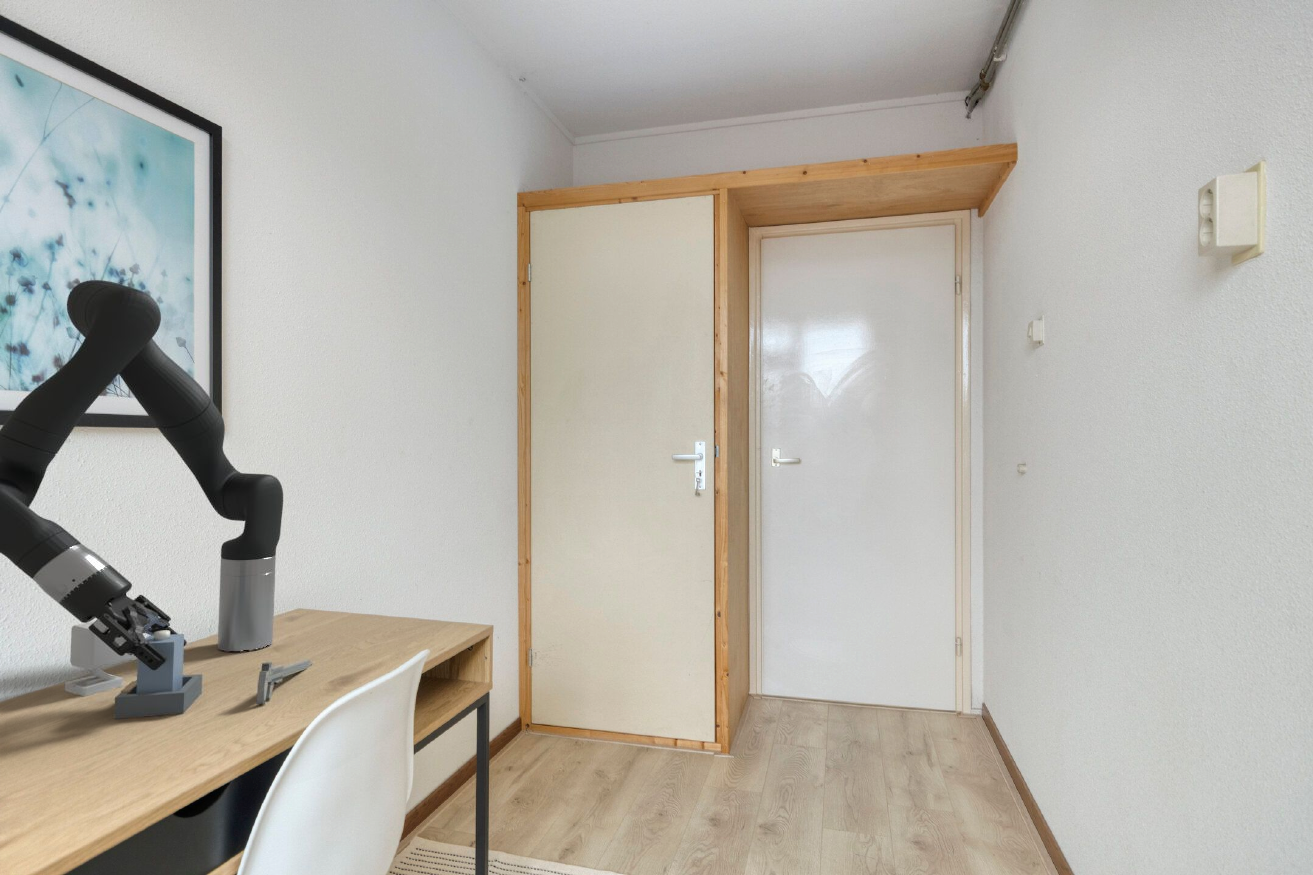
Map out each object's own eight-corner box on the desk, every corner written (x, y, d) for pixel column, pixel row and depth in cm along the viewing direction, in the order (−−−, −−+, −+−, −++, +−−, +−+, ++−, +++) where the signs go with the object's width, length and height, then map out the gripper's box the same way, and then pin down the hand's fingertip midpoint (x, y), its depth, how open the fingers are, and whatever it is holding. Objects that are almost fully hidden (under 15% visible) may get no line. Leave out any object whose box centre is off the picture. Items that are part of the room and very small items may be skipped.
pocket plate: (113, 718, 100) (114, 695, 100) (137, 697, 108) (138, 676, 108) (183, 713, 102) (184, 691, 102) (201, 693, 110) (202, 672, 110)
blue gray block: (135, 712, 102) (138, 636, 102) (147, 701, 106) (150, 628, 106) (171, 709, 103) (174, 635, 103) (181, 698, 108) (184, 627, 108)
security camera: (135, 683, 114) (137, 621, 114) (85, 697, 107) (87, 631, 107) (112, 676, 116) (115, 616, 116) (62, 689, 110) (65, 626, 110)
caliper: (264, 707, 106) (265, 665, 106) (256, 707, 106) (258, 665, 106) (312, 665, 126) (313, 630, 126) (306, 665, 126) (307, 630, 126)
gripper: (82, 572, 96) (176, 651, 99) (126, 556, 110) (207, 625, 113) (34, 613, 94) (131, 691, 98) (84, 591, 108) (167, 661, 111)
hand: (172, 656), depth 105 cm, fingers open, 8 cm apart
